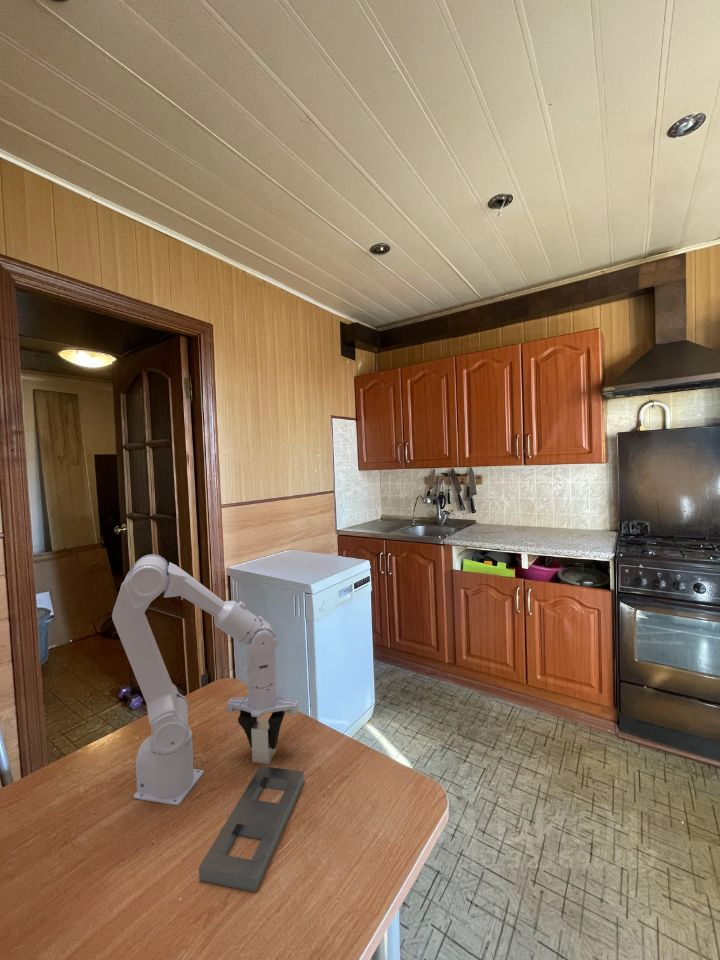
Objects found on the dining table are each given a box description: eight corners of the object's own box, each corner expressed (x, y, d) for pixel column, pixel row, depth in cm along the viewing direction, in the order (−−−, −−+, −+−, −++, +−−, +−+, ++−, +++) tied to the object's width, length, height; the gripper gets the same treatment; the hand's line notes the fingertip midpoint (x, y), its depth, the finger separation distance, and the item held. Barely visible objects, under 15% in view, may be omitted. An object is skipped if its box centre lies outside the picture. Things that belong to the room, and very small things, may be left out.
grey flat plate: (199, 880, 58) (198, 867, 58) (260, 775, 77) (260, 765, 77) (256, 892, 56) (255, 878, 56) (304, 781, 75) (303, 771, 75)
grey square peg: (252, 761, 81) (251, 728, 81) (260, 749, 85) (259, 717, 84) (268, 764, 80) (267, 730, 80) (276, 751, 84) (274, 719, 84)
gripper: (219, 690, 79) (222, 757, 79) (290, 693, 77) (292, 761, 78) (234, 672, 86) (236, 733, 86) (299, 674, 84) (301, 736, 85)
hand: (264, 745), depth 82 cm, fingers closed on grey square peg, 4 cm apart
